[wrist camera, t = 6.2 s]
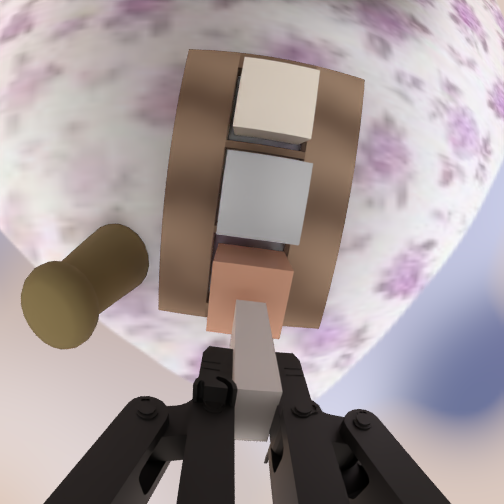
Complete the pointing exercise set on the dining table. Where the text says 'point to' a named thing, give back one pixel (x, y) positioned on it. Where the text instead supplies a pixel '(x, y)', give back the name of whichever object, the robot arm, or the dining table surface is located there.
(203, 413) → the robot arm
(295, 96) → the cream cube
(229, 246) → the key terracotta
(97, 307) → the pepper shaker
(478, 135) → the dining table surface
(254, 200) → the key slate
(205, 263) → the wooden slotted tray
